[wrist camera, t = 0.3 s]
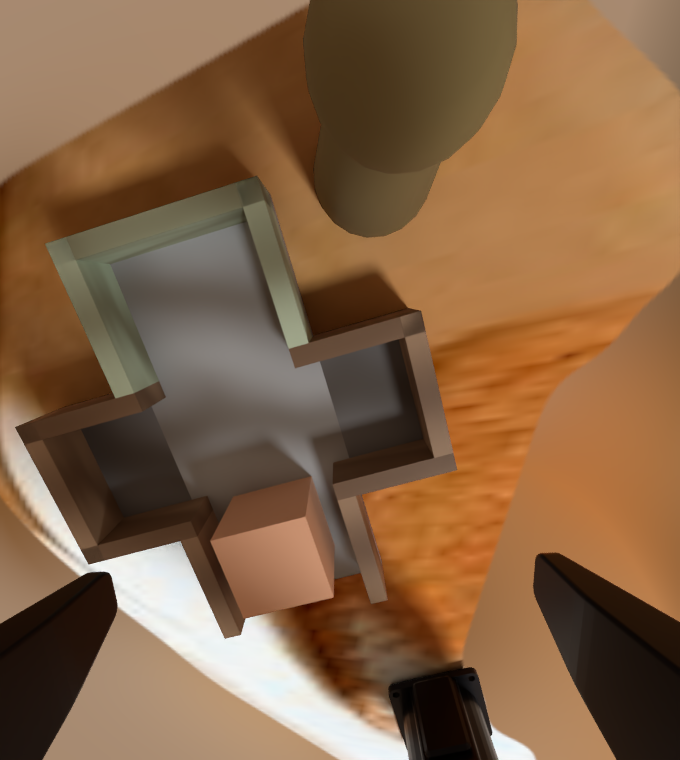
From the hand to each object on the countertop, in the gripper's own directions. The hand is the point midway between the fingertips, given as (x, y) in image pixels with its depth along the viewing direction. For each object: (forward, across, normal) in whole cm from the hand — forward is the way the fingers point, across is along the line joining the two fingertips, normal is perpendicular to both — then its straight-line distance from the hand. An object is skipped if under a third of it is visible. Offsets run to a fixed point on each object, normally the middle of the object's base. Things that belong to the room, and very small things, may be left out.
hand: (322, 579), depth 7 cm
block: (+13, +4, +8) cm, 16 cm away
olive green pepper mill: (+14, -3, -12) cm, 18 cm away
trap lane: (+14, +5, +2) cm, 15 cm away
